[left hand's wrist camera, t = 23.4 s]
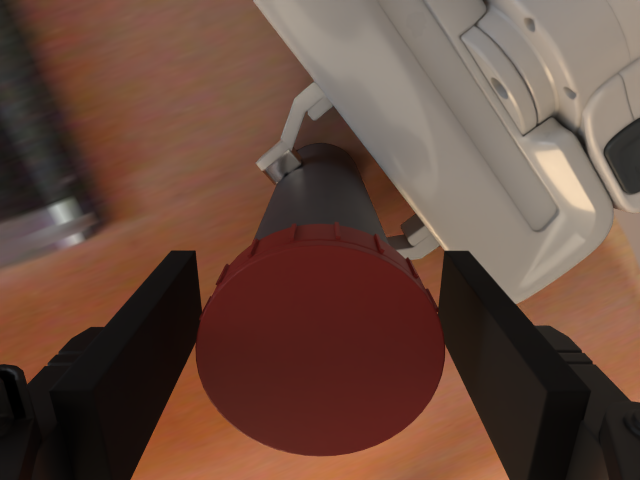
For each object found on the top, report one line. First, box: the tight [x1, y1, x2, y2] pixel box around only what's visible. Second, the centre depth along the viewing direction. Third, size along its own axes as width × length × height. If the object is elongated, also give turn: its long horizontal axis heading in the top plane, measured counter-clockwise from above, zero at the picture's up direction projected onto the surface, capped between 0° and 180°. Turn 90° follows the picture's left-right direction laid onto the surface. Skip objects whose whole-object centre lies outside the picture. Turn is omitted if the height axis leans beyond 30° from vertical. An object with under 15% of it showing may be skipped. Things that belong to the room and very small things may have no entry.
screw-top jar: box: [254, 143, 389, 245], centre depth 20 cm, size 5×5×18 cm
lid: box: [196, 222, 445, 456], centre depth 11 cm, size 6×6×2 cm
